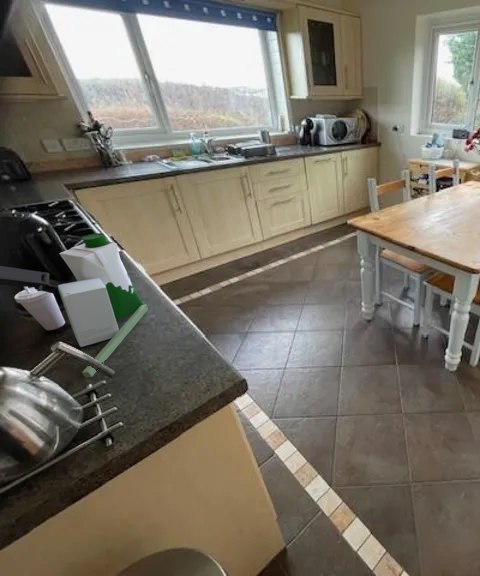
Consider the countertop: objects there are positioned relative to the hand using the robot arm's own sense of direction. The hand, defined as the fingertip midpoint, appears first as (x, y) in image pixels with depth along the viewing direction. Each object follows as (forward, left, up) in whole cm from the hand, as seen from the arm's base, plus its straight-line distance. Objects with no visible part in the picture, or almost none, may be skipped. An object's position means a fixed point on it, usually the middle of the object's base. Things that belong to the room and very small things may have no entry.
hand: (34, 294), depth 73 cm
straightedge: (+17, -6, -10) cm, 21 cm away
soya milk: (+11, +6, -10) cm, 16 cm away
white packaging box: (+11, -4, -10) cm, 16 cm away
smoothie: (-2, +2, -10) cm, 11 cm away
